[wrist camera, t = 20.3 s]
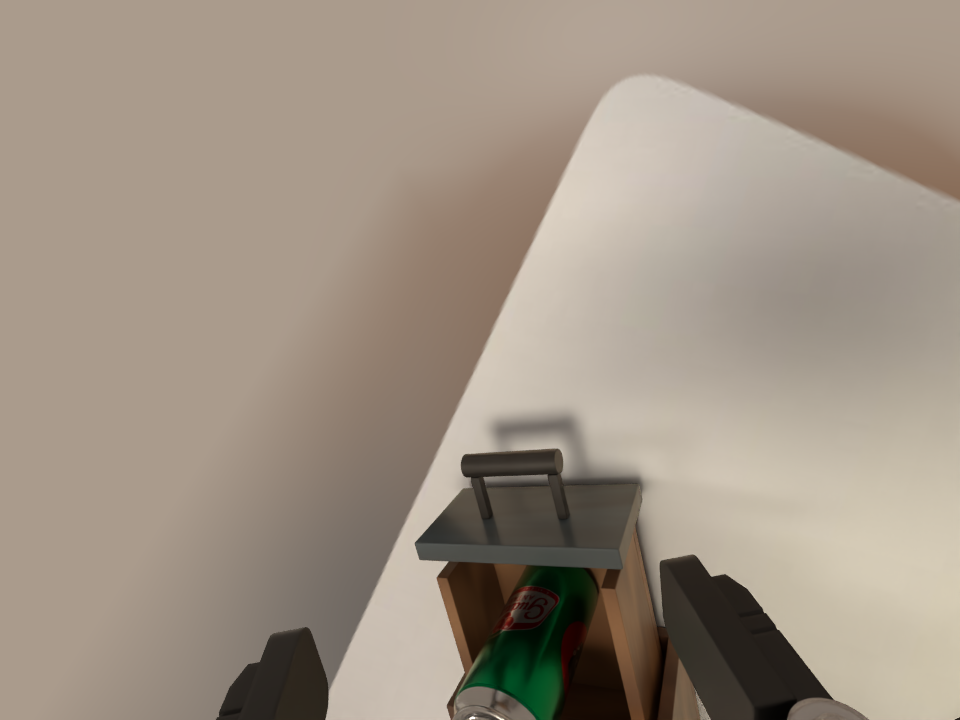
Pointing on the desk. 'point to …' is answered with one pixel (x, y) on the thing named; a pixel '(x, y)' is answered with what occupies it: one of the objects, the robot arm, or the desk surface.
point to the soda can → (531, 648)
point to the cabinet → (676, 693)
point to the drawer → (553, 542)
